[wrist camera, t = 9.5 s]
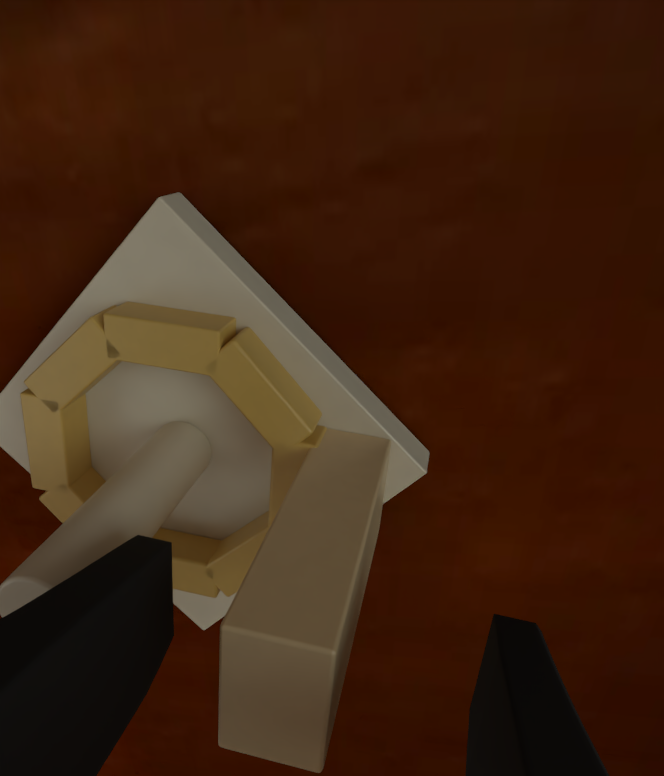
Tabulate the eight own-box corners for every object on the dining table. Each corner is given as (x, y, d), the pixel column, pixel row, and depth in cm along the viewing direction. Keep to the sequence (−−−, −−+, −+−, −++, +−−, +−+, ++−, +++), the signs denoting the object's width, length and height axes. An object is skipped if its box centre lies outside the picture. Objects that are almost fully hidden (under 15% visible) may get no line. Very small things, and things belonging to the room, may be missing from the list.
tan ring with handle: (405, 342, 12) (354, 510, 7) (368, 602, 15) (311, 867, 10) (36, 286, 14) (-248, 393, 8) (64, 536, 16) (-135, 739, 11)
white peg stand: (430, 451, 14) (400, 677, 9) (217, 606, 18) (90, 845, 12) (179, 190, 13) (-53, 244, 7) (1, 407, 17) (-258, 564, 11)
